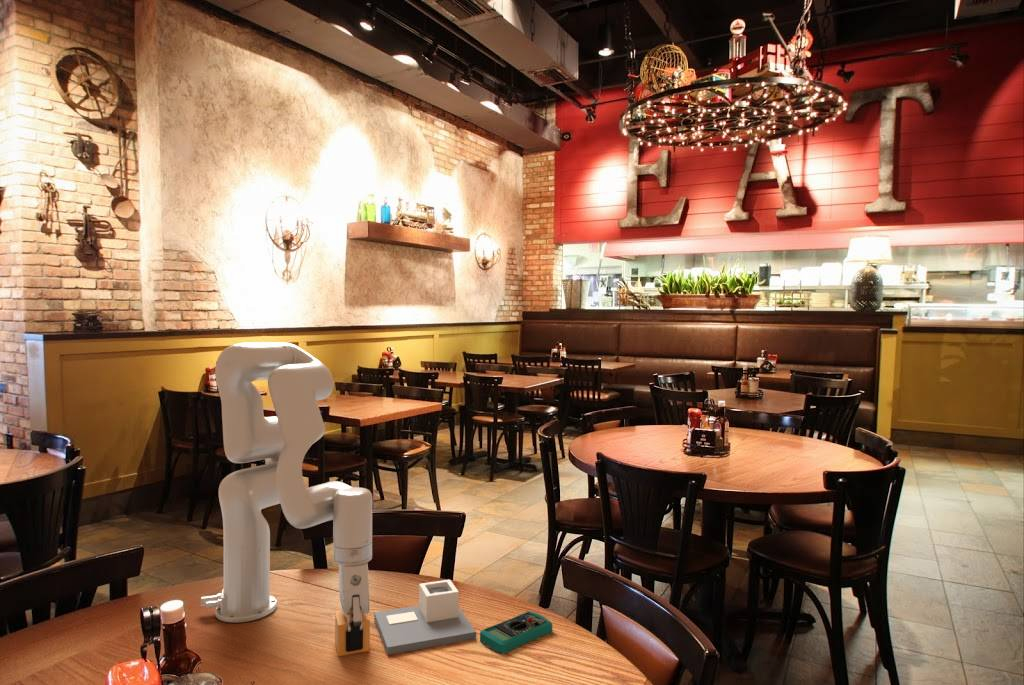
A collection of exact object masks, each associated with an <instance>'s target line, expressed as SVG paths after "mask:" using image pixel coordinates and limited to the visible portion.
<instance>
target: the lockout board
mask: <svg viewBox="0 0 1024 685" xmlns="http://www.w3.org/2000/svg"><path fill="white" fill-rule="evenodd" d="M418 586H419V587H418V591H419V593H418V605H415V606H406V607H400V608H392V609H388V610H381V611H374V618H373V619H374V623H375V625H376V628H377V630H378V634H379V635H380V638H381V639H380V640H381V641H382V644H383V647H384V650H385V653H386V655H387V656H390V655H395V654H400V653H406V652H407V653H408V652H413V651H417V650H424V649H429V648H434V647H440V646H445V645H450V644H456V643H462V642H466V641H467V642H468V641H473V640H476V639H477V631H476V629H475V628H474V627H473V626H472V624H471V622H470V621H469V619H468V618H467V616H466V615H465V613H464V612H463V611H462V609H461V608H460V605H459V604H460V600H459V599H460V598H459V597H460V596H459V595H460V592H459V590H458V589H457V587H456V586H455V585H454V583H453V581H452V580H451V579H444V580H437V581H430V582H424V583H423V582H422V583H419V584H418ZM433 588H446V589H448V590H449V591H446V592H439V593H433V594H430V593H429V590H431V589H433Z"/></svg>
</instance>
